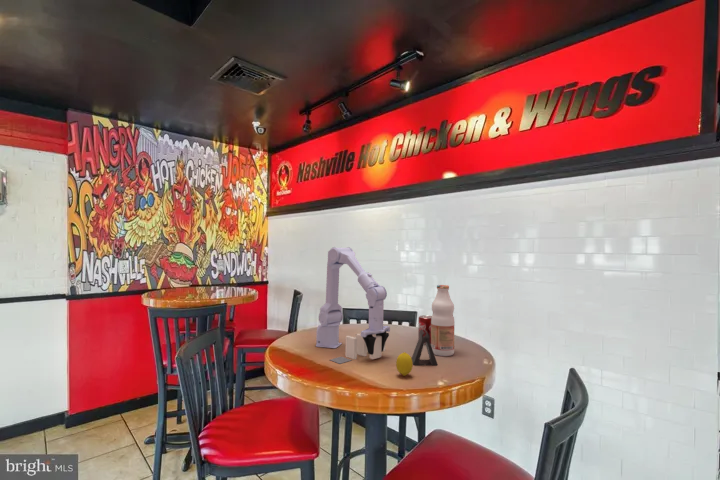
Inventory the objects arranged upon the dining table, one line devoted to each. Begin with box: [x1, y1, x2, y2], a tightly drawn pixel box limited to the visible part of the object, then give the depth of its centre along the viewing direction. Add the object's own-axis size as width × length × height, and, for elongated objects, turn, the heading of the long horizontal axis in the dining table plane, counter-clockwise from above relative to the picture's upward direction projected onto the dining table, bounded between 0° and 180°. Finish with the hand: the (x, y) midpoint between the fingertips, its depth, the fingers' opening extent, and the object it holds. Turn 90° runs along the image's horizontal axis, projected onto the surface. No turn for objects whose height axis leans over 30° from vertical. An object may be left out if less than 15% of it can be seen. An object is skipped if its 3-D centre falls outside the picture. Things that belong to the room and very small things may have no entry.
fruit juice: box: [431, 284, 455, 357], centre depth 148 cm, size 9×9×28 cm
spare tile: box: [369, 336, 383, 360], centre depth 139 cm, size 2×5×8 cm, turn 134°
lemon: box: [395, 351, 414, 377], centre depth 121 cm, size 6×6×8 cm
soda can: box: [417, 314, 432, 346], centre depth 163 cm, size 7×7×12 cm
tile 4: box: [344, 335, 358, 360], centre depth 140 cm, size 2×5×8 cm, turn 44°
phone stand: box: [411, 329, 439, 367], centre depth 135 cm, size 9×6×12 cm, turn 89°
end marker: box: [329, 356, 353, 365], centre depth 137 cm, size 6×6×1 cm
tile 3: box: [355, 333, 368, 357], centre depth 144 cm, size 2×5×8 cm, turn 44°
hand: (375, 352), depth 138 cm, fingers closed on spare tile, 5 cm apart
